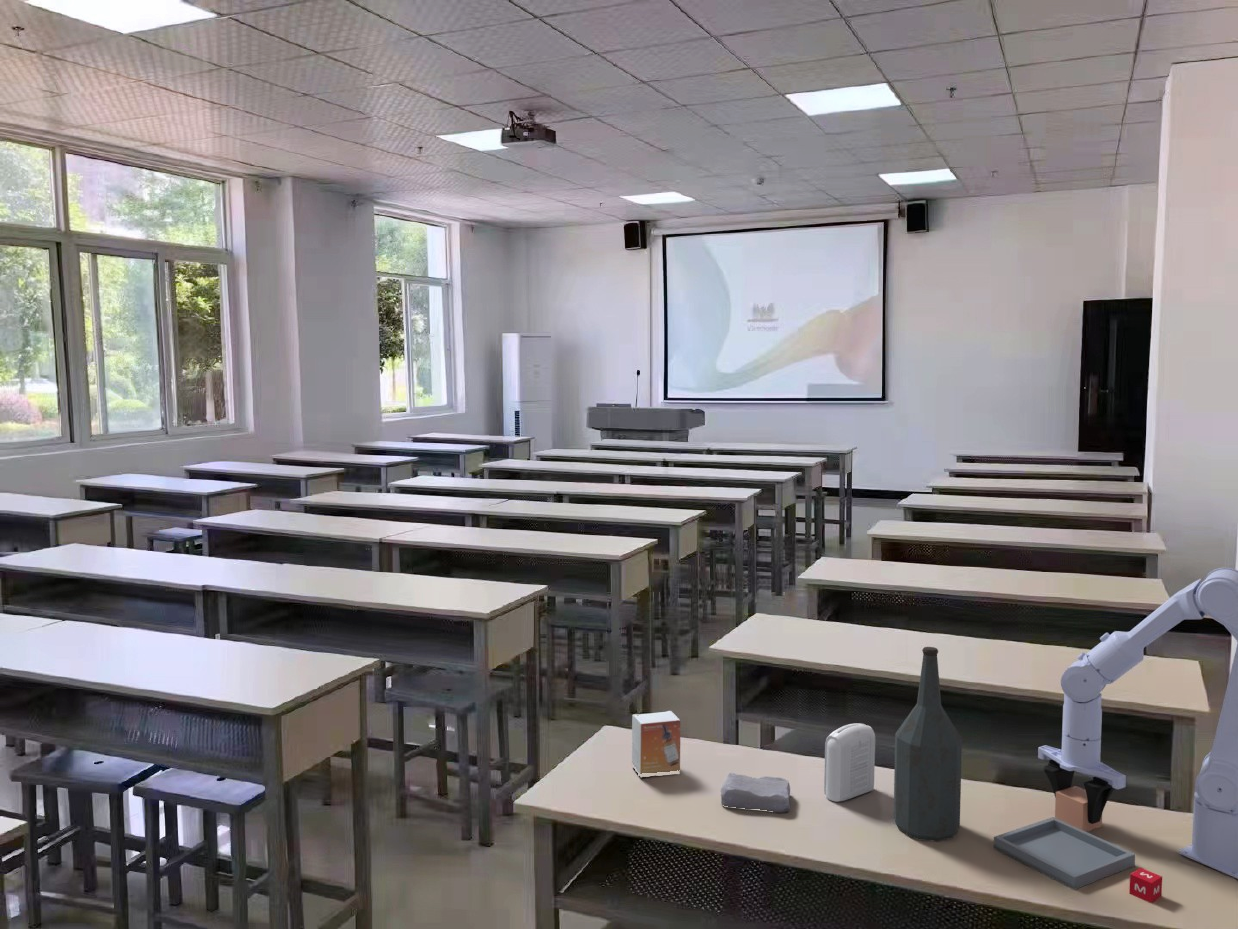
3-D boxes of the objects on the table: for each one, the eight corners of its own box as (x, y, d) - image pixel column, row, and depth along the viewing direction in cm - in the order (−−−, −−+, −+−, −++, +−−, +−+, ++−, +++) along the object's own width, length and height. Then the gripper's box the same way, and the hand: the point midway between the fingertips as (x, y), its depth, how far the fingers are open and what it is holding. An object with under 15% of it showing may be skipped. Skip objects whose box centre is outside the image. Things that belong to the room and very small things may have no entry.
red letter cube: (1129, 894, 134) (1129, 874, 134) (1139, 887, 136) (1140, 867, 136) (1150, 903, 132) (1151, 883, 132) (1161, 897, 134) (1162, 876, 133)
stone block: (725, 796, 171) (718, 809, 162) (726, 769, 172) (720, 780, 162) (791, 805, 168) (788, 818, 159) (793, 777, 169) (790, 789, 159)
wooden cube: (1101, 826, 155) (1102, 797, 154) (1082, 833, 152) (1083, 803, 152) (1074, 814, 159) (1075, 785, 159) (1054, 821, 157) (1055, 792, 156)
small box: (639, 779, 174) (639, 724, 173) (631, 768, 179) (631, 713, 178) (681, 774, 176) (681, 719, 175) (671, 763, 181) (671, 709, 180)
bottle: (949, 848, 148) (954, 660, 145) (887, 833, 153) (890, 651, 150) (964, 822, 156) (969, 644, 154) (905, 808, 161) (908, 636, 159)
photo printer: (858, 782, 172) (860, 716, 171) (877, 790, 169) (879, 723, 168) (820, 796, 166) (821, 728, 165) (839, 805, 163) (840, 735, 162)
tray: (1134, 865, 142) (1135, 854, 142) (1074, 889, 135) (1074, 877, 135) (1052, 827, 154) (1053, 817, 154) (993, 848, 148) (993, 836, 148)
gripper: (1027, 725, 159) (1024, 803, 160) (1107, 754, 146) (1103, 839, 147) (1054, 718, 162) (1052, 794, 164) (1135, 746, 150) (1131, 828, 151)
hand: (1078, 815), depth 156 cm, fingers closed on wooden cube, 5 cm apart
